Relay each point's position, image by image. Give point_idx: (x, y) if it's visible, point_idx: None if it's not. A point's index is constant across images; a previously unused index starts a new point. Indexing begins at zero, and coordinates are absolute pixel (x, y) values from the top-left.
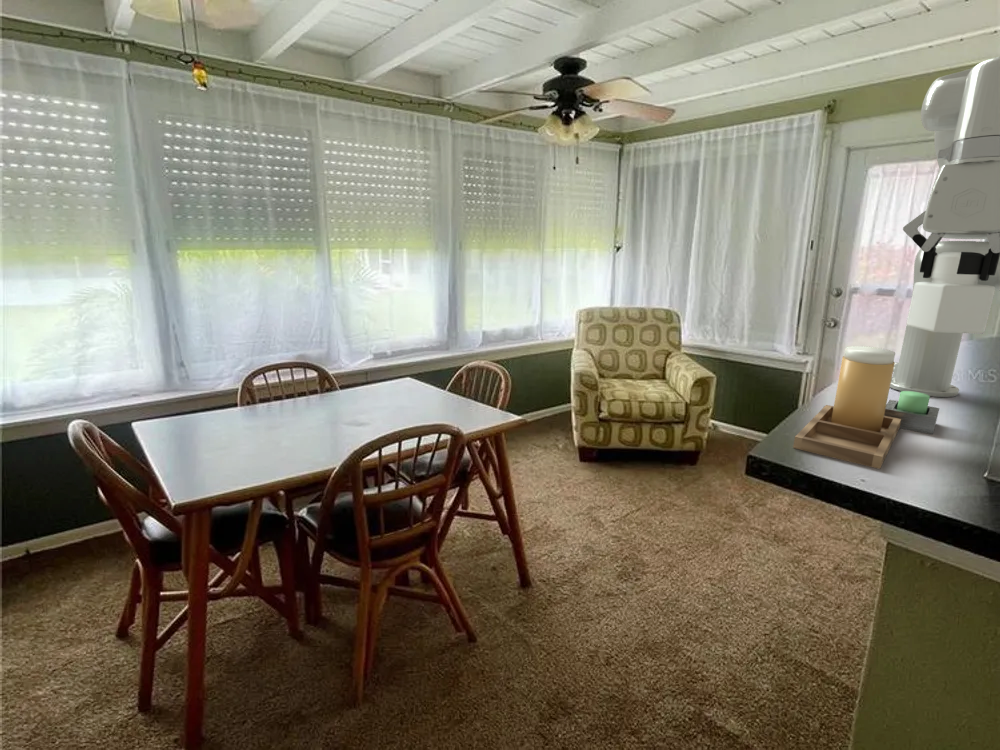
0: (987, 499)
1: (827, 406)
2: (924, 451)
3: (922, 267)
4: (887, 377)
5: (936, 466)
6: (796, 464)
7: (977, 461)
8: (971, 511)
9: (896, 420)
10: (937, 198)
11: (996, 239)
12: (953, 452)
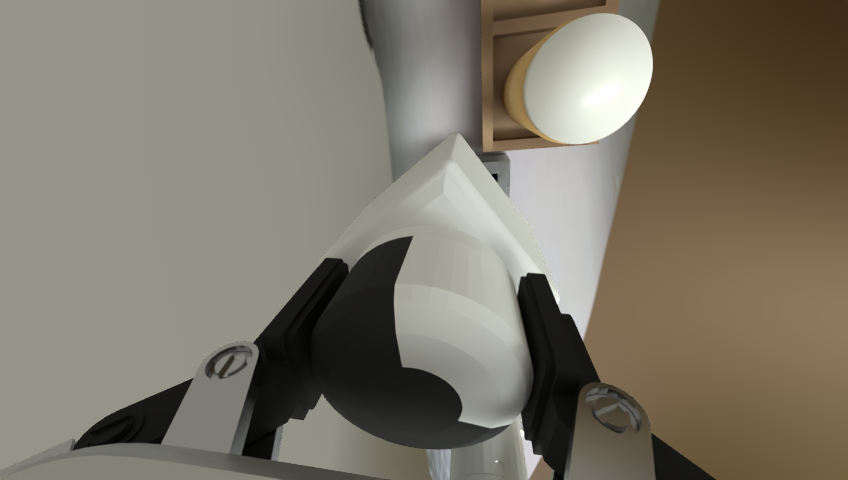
0: None
1: None
2: (443, 100)
3: (565, 322)
4: (522, 64)
5: (421, 39)
6: None
7: (388, 113)
8: None
9: (487, 137)
10: None
11: (192, 420)
12: (415, 129)
